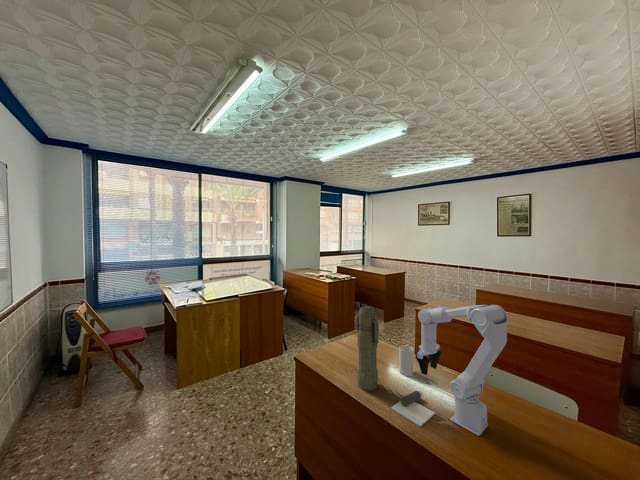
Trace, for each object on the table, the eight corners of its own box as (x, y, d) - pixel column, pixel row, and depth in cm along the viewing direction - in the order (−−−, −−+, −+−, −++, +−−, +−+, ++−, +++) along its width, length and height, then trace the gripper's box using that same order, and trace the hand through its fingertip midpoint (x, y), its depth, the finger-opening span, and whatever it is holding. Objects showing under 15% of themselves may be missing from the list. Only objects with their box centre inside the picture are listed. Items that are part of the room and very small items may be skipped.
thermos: (372, 395, 105) (372, 311, 105) (351, 383, 114) (350, 306, 113) (384, 386, 111) (384, 307, 111) (363, 376, 120) (363, 302, 119)
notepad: (434, 414, 93) (434, 412, 93) (420, 426, 87) (420, 425, 87) (406, 398, 103) (406, 396, 103) (391, 408, 97) (391, 407, 97)
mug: (408, 378, 117) (408, 352, 117) (396, 372, 123) (396, 347, 123) (420, 371, 124) (419, 346, 124) (407, 365, 129) (407, 342, 129)
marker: (407, 406, 96) (423, 397, 101) (405, 398, 97) (421, 389, 102) (401, 405, 98) (417, 396, 104) (399, 397, 99) (415, 388, 104)
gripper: (428, 331, 112) (428, 361, 112) (410, 339, 103) (410, 372, 103) (444, 336, 106) (444, 367, 106) (426, 345, 97) (426, 380, 97)
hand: (428, 370), depth 104 cm, fingers open, 7 cm apart
